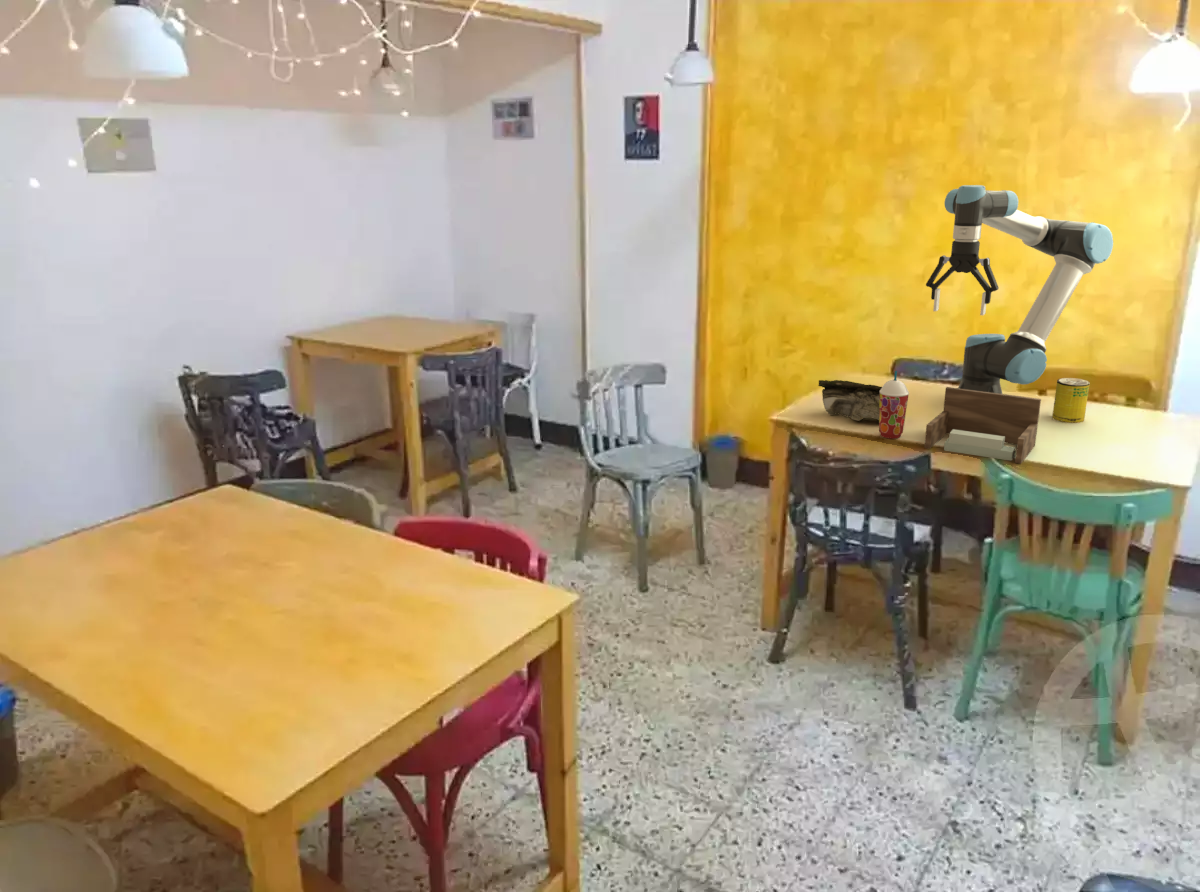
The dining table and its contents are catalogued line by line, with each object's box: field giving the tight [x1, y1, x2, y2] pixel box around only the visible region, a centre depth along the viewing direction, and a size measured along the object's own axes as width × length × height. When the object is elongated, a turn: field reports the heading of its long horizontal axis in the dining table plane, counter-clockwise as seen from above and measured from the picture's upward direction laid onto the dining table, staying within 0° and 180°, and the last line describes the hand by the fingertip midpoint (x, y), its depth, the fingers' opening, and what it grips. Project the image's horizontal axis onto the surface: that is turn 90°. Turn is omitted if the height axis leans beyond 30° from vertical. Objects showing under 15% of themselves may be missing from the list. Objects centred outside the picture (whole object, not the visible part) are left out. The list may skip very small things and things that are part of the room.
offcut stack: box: [943, 429, 1017, 462], centre depth 262 cm, size 4×18×6 cm, turn 57°
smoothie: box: [878, 370, 910, 440], centre depth 276 cm, size 8×8×20 cm
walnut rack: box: [924, 386, 1042, 465], centre depth 266 cm, size 18×26×14 cm
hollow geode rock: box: [817, 379, 883, 422], centre depth 295 cm, size 28×13×15 cm
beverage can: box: [1051, 377, 1090, 424], centre depth 290 cm, size 9×9×12 cm
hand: (958, 312), depth 279 cm, fingers open, 13 cm apart
